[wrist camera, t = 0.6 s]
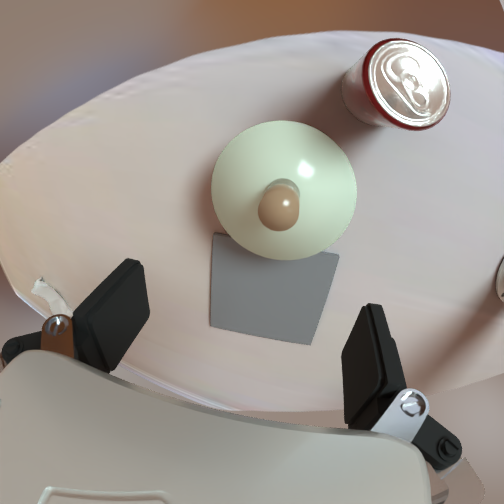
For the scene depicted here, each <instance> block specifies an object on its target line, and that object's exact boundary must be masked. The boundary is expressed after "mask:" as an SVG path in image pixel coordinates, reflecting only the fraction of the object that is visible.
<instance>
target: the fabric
mask: <svg viewBox="0 0 504 504" xmlns="http://www.w3.org/2000/svg"><path fill="white" fill-rule="evenodd" d="M31 291H32V293H33V294H35V295H38V296H40V297H42V298H44V299H45V300H46V301H47V302H48V304H49V307H50V309H51V312H52V315H56V314H64V315H67V316H69V317H71V316H72V315H73V311H72V310H71V309H70V308H69V306H68V305H67V303H66V302H65V301H64V299H63V298H62V297H61V296H60V295H59V294H58V293H57V292H56V291H55V290H54V289H53V288H52V287H51V286H48V285H47V284H46V283H45V282H44V281H42V277H41V278H39V279H37V280H36V281H35V284H34V287H33V289H32V290H31Z"/></svg>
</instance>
